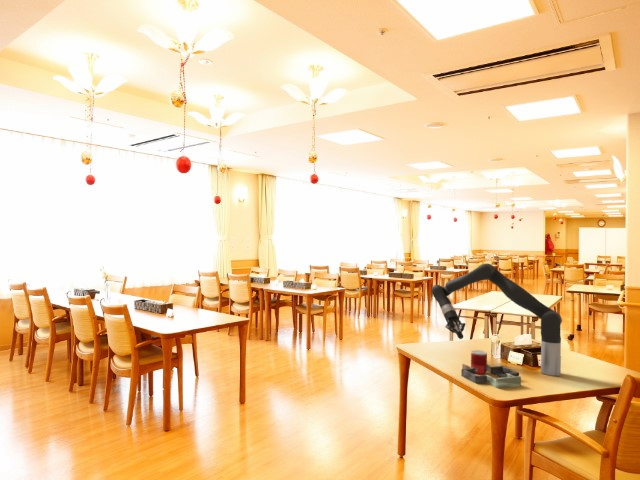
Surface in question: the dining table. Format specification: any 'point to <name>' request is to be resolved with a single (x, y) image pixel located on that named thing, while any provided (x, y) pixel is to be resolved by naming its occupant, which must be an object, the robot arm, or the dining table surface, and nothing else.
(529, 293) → the robot arm
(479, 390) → the dining table surface
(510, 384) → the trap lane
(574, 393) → the dining table surface
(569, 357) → the dining table surface
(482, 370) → the canned food
